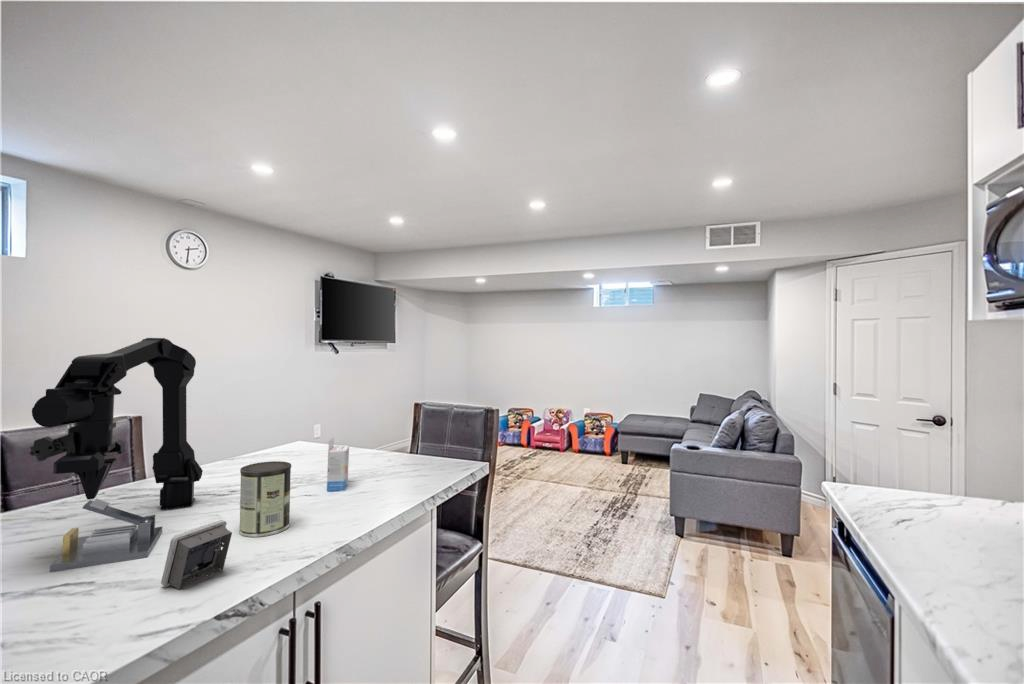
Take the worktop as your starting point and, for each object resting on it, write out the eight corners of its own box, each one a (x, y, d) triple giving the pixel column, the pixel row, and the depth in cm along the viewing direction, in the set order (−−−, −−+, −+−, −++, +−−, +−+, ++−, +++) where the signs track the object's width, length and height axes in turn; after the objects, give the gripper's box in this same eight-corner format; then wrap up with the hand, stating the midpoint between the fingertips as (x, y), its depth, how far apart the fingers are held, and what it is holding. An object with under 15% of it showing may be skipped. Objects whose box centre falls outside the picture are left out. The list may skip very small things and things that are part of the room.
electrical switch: (213, 565, 87) (218, 516, 87) (232, 573, 85) (237, 523, 85) (159, 588, 78) (164, 534, 78) (179, 598, 76) (184, 542, 76)
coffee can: (265, 518, 112) (267, 459, 112) (299, 523, 108) (301, 463, 109) (227, 533, 102) (229, 469, 102) (263, 540, 98) (265, 473, 99)
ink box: (344, 491, 134) (346, 440, 134) (326, 492, 133) (327, 440, 133) (348, 483, 142) (349, 435, 143) (331, 483, 141) (332, 435, 142)
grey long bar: (150, 525, 96) (155, 517, 97) (146, 529, 94) (152, 521, 94) (86, 505, 92) (91, 497, 92) (81, 509, 89) (86, 501, 90)
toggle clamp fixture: (162, 532, 102) (163, 508, 102) (147, 557, 90) (148, 530, 90) (78, 543, 95) (79, 517, 96) (49, 572, 83) (51, 542, 83)
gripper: (58, 415, 96) (55, 491, 96) (15, 429, 80) (10, 520, 79) (126, 413, 101) (124, 484, 101) (99, 425, 85) (95, 511, 84)
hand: (91, 498), depth 91 cm, fingers closed
